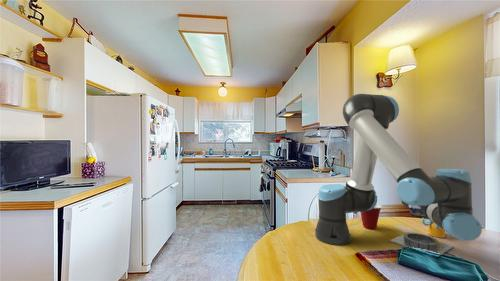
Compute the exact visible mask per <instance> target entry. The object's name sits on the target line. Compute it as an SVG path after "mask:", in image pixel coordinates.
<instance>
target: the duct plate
mask: <svg viewBox="0 0 500 281" xmlns="http://www.w3.org/2000/svg"><path fill="white" fill-rule="evenodd" d="M389 242H391V243H392V244H396V245H398V246H401V247H404V248H406V247H414V248H421V249H427V250H431V251H433V252H436V253H440V254H442V253H445V252H446V253H447V252H449V251H451V250H452V249H454V245H451V244H447V243H443V242H440V241H439V240H438V239H437V238H436V237H435V238H434V236H431V235H428V234H427V235H426V234H423V233H417V232H406V233H404V234H402V235H399V236H397V237H395V238H392V239H390V241H389ZM446 253H445V254H446Z"/></svg>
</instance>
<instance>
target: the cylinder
mask: <svg viewBox="0 0 500 281" xmlns="http://www.w3.org/2000/svg"><path fill="white" fill-rule="evenodd" d="M426 219H427V218H421V223H422V224H423V225H424V226H427V235H428V236H430V237H433V238H434V237H435V238H439V239H443V238H446V231H445V230H443V229H442V228H441V227H439V226H438V225H437V224H436V223H434V222H433V221H431V220H430V219H428V221H427V220H426Z"/></svg>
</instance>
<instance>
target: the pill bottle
mask: <svg viewBox="0 0 500 281" xmlns="http://www.w3.org/2000/svg"><path fill="white" fill-rule="evenodd" d="M409 214H410V215H411V216H412V217H414V218H419V219H422V218H426V219H428V218H427V217H426V216H425V215H424V214H423V212H422V211H420V210H418V208H415V209H413V210H410V209H409Z"/></svg>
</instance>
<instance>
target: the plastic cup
mask: <svg viewBox="0 0 500 281" xmlns="http://www.w3.org/2000/svg"><path fill="white" fill-rule="evenodd" d="M382 208H383V206H382V205H381V204H377V203H376V206H375V207H374V208H373V209H371V210H368V211H365V212H359V213H360V217H361V222H362V226H363V228H364V229H367V230H370V231H373V230H377V226H378V222H379V216H380V213H381V210H382Z"/></svg>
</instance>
